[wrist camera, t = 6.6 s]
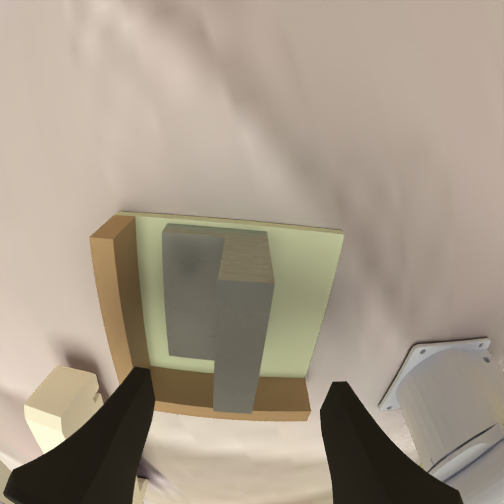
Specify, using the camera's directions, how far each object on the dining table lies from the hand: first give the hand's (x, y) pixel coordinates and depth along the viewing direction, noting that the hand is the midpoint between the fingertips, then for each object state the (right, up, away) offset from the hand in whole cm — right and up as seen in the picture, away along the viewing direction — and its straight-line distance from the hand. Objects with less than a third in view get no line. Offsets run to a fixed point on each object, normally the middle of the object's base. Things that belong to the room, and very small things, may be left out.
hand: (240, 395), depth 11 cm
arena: (-1, +2, +7) cm, 7 cm away
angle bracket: (-2, +3, +6) cm, 7 cm away
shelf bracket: (-14, -14, +15) cm, 24 cm away
